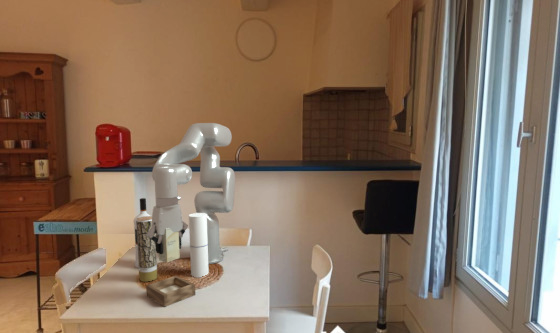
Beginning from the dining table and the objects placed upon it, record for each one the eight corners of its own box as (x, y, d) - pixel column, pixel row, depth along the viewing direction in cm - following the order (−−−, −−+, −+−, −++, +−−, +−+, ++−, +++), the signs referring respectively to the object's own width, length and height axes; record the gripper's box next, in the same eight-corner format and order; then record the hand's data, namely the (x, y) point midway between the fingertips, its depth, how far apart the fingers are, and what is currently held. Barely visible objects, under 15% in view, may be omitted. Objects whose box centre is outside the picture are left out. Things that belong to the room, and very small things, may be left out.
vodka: (149, 270, 169) (145, 200, 165) (130, 268, 171) (126, 200, 168) (161, 262, 178) (158, 196, 174) (143, 260, 180) (139, 195, 176)
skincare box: (167, 263, 138) (165, 229, 137) (158, 260, 141) (156, 227, 139) (180, 257, 144) (179, 224, 142) (171, 255, 146) (170, 223, 145)
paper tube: (151, 283, 155) (148, 220, 152) (136, 282, 156) (132, 220, 153) (160, 276, 162) (157, 216, 159) (145, 275, 163) (142, 215, 160)
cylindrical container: (193, 278, 159) (191, 217, 156) (189, 272, 165) (186, 214, 162) (210, 275, 162) (208, 215, 159) (205, 269, 169) (203, 212, 166)
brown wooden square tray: (176, 285, 153) (176, 275, 152) (195, 294, 144) (194, 284, 144) (146, 296, 144) (146, 285, 143) (164, 306, 135) (164, 295, 135)
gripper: (182, 196, 149) (183, 243, 151) (138, 204, 136) (141, 254, 138) (193, 199, 144) (195, 247, 146) (149, 207, 131) (152, 259, 133)
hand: (169, 250), depth 142 cm, fingers closed on skincare box, 6 cm apart
